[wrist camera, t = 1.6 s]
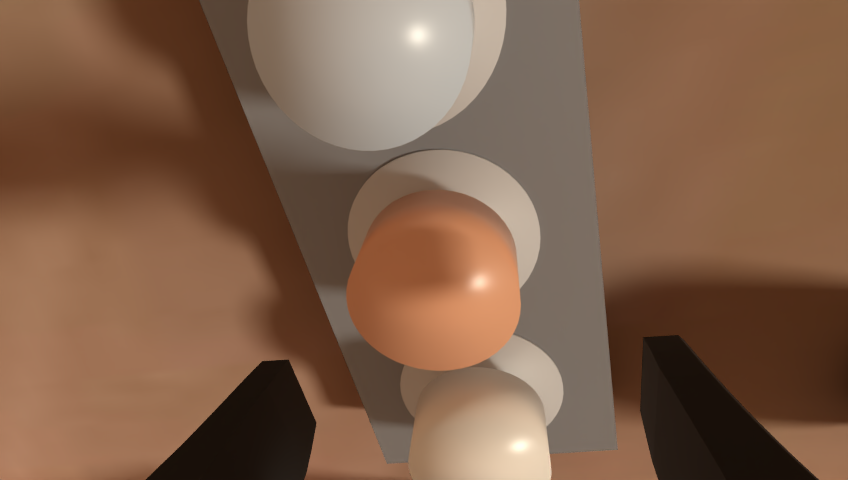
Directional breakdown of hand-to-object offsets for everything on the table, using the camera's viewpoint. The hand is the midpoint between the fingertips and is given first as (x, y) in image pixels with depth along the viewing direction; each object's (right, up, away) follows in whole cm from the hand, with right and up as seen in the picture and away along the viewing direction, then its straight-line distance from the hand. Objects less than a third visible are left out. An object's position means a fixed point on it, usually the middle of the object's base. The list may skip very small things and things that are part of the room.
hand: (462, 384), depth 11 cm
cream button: (+1, -4, +9) cm, 10 cm away
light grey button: (-2, +8, +2) cm, 9 cm away
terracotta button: (0, +2, +6) cm, 6 cm away
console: (0, +4, +9) cm, 10 cm away
